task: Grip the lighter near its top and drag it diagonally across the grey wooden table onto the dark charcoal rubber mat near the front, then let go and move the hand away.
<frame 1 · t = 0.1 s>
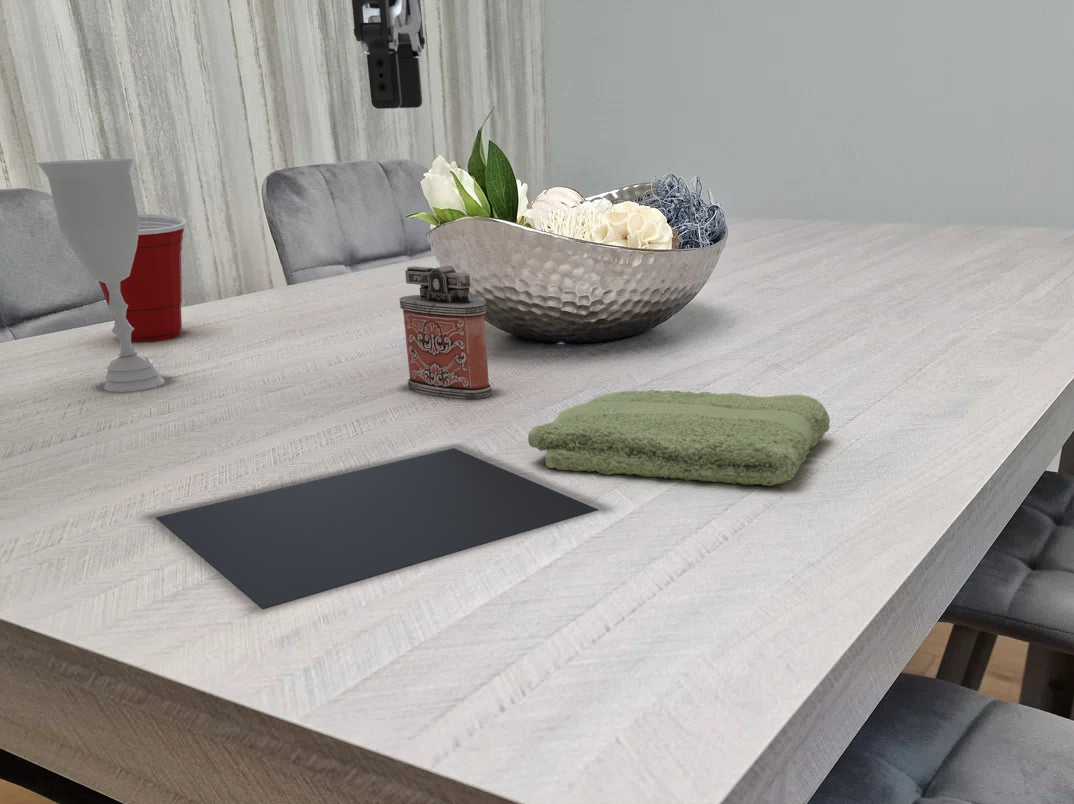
hand: (398, 108, 84), 21 cm above the table, tool pointing down, fingers open, 8 cm apart
lighter: (449, 395, 86), on the table
washcloth: (682, 457, 69), on the table
chalice: (135, 388, 90), on the table
plastic cup: (153, 340, 110), on the table
mat: (376, 516, 60), on the table
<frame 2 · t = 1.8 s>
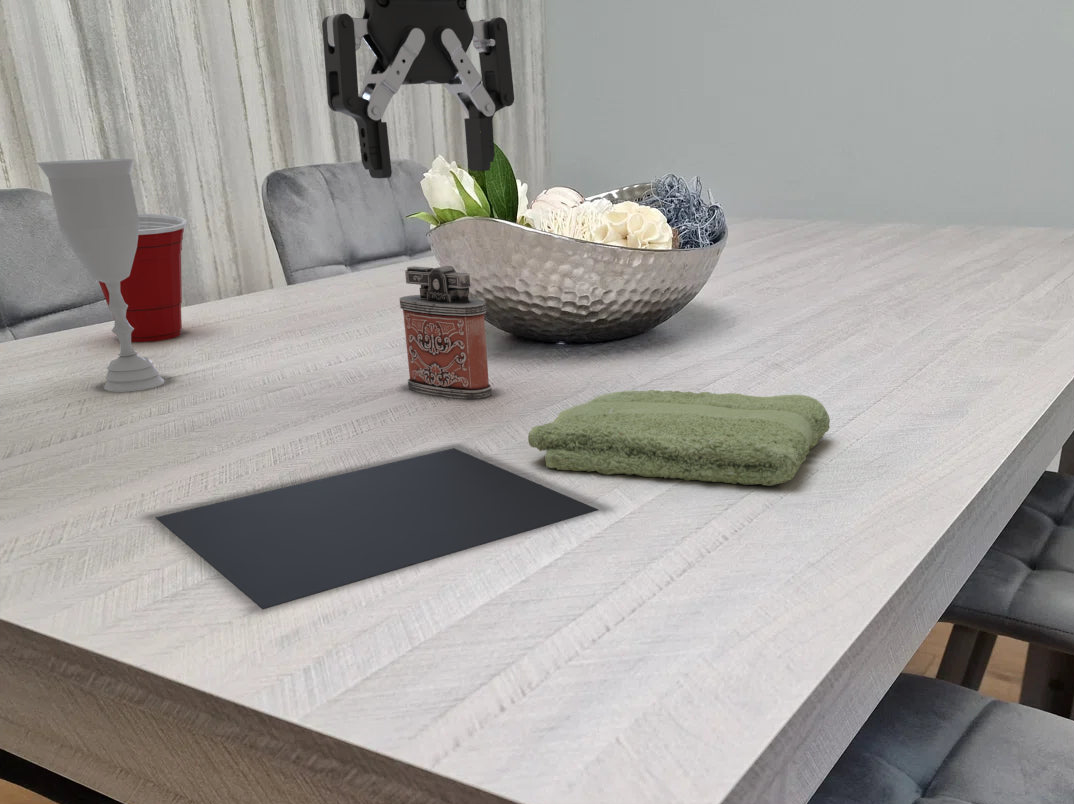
hand: (431, 174, 79), 17 cm above the table, tool pointing down, fingers open, 8 cm apart
nothing on the table moved.
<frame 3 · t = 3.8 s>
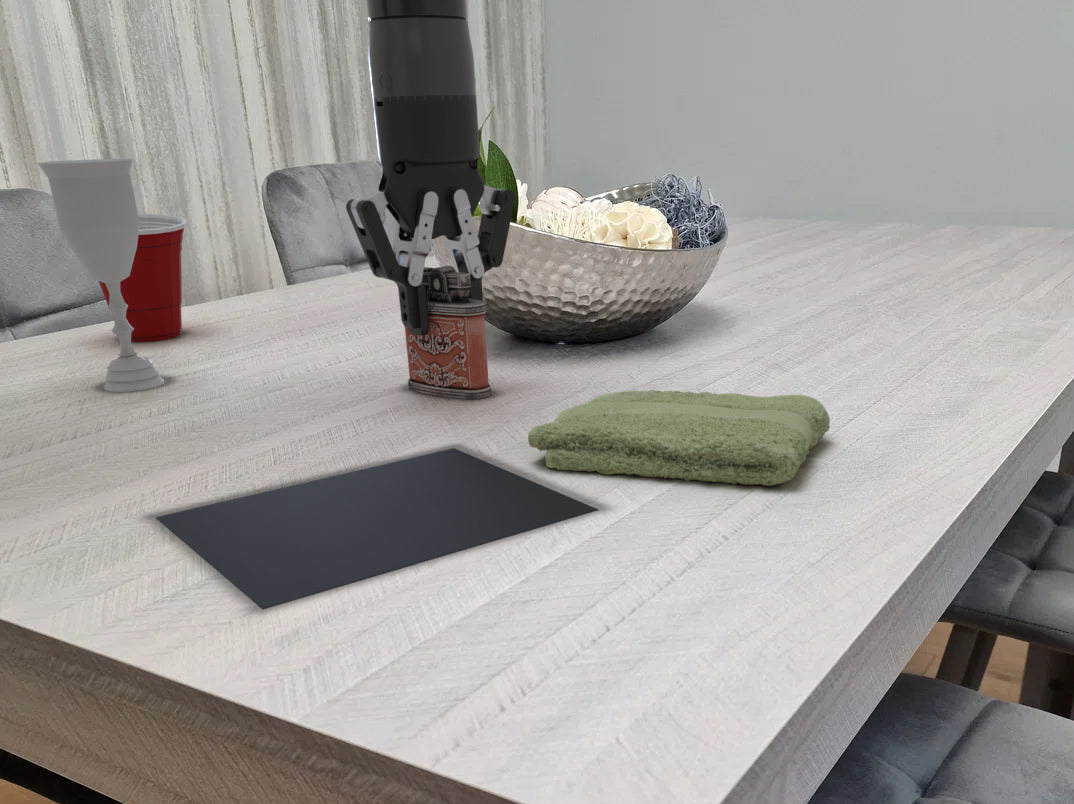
hand: (444, 328, 83), 5 cm above the table, tool pointing down, fingers closed on lighter, 4 cm apart
lighter: (449, 395, 86), on the table, touching gripper
everything else where it was.
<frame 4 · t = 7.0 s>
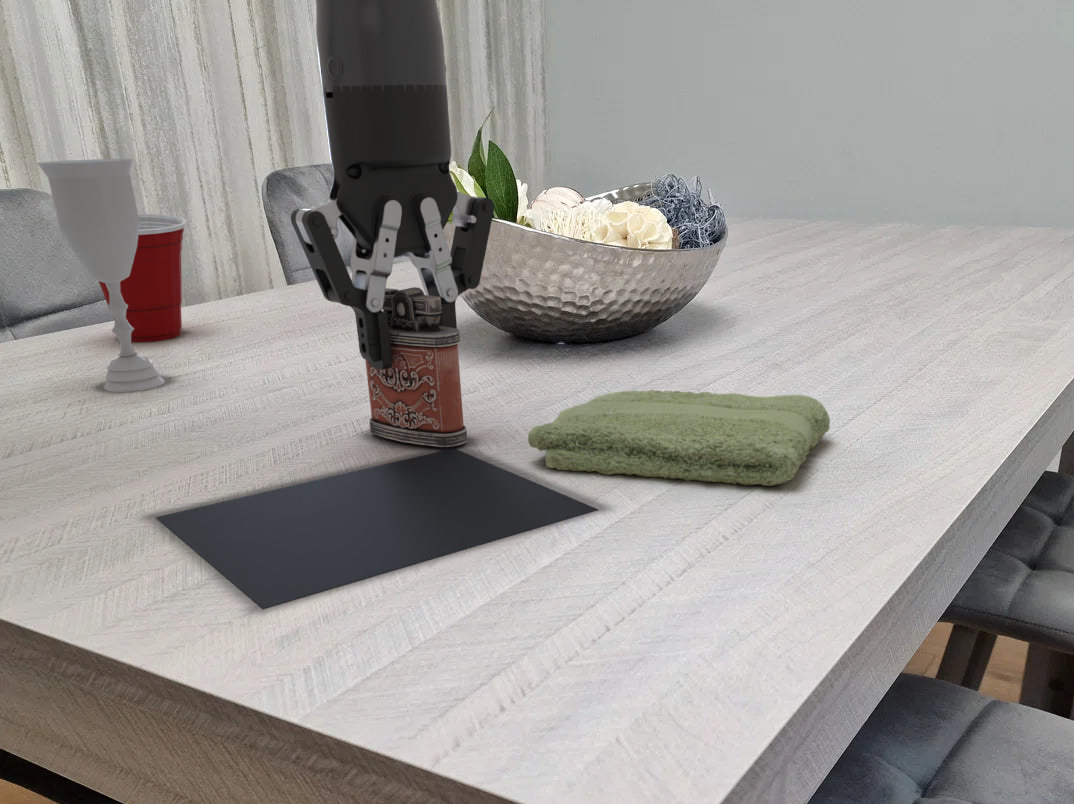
hand: (410, 360, 71), 6 cm above the table, tool pointing down, fingers closed on lighter, 4 cm apart
lighter: (418, 438, 73), on the table, touching gripper
everything else where it was.
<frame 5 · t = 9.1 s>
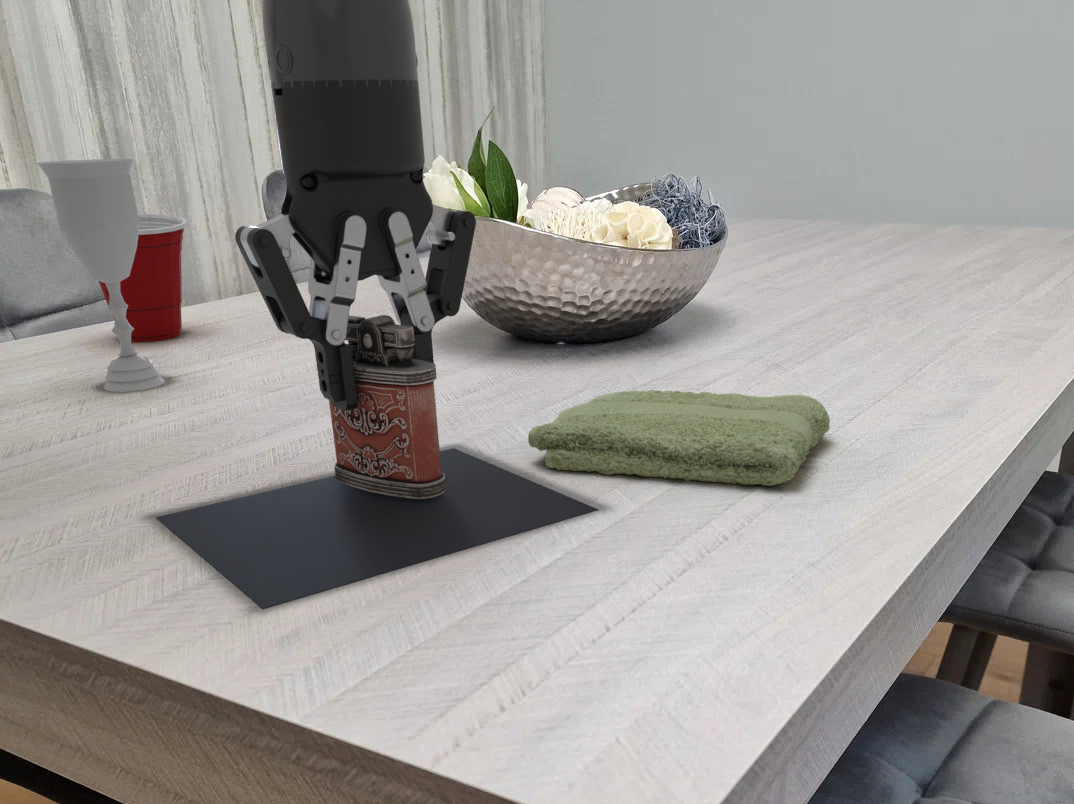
hand: (380, 399, 61), 6 cm above the table, tool pointing down, fingers closed on lighter, 4 cm apart
lighter: (390, 486, 64), resting on mat, touching gripper
everything else where it was.
when the fingers open (5 cm above the table, at t = 10.4 s): lighter stays where it is, resting on mat.
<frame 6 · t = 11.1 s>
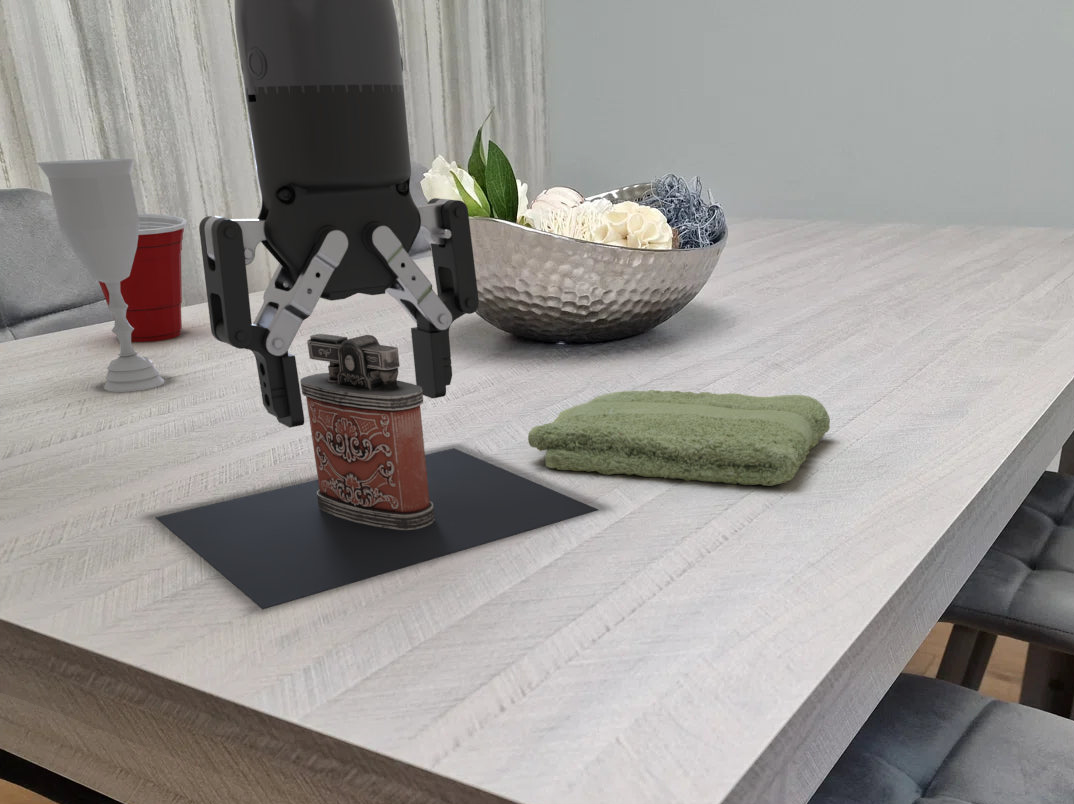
hand: (363, 409, 57), 6 cm above the table, tool pointing down, fingers open, 8 cm apart
lighter: (375, 515, 60), resting on mat
everything else where it was.
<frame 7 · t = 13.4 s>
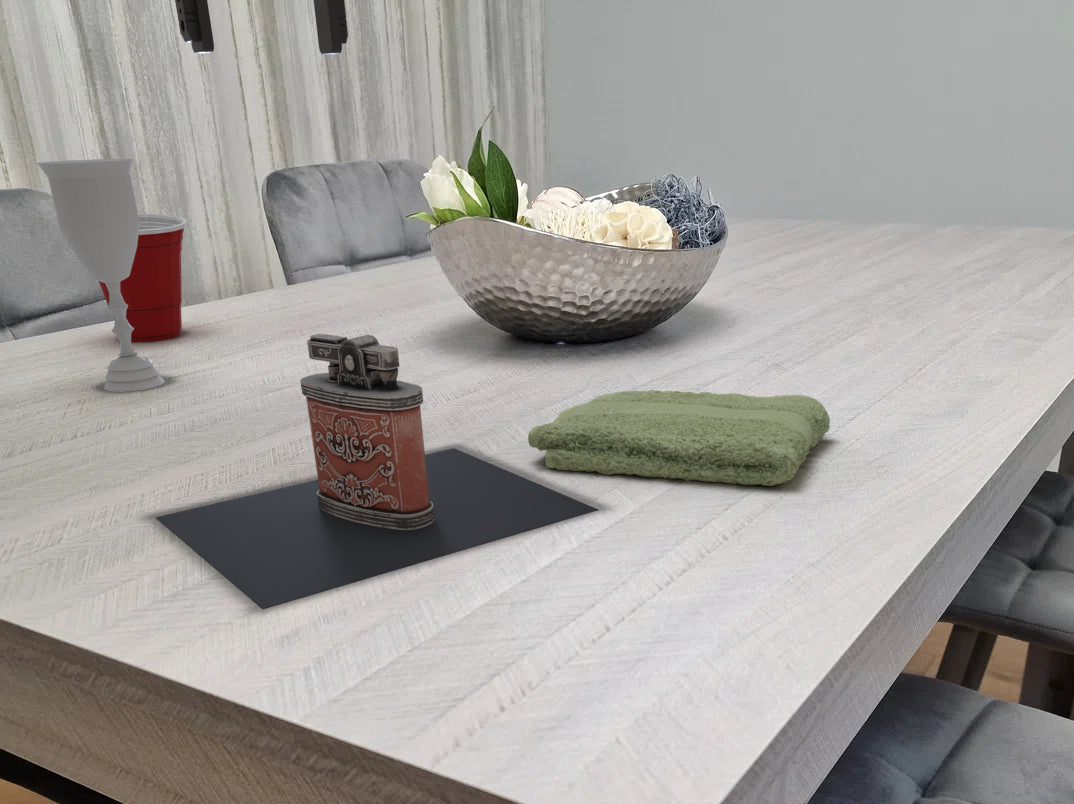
hand: (269, 53, 68), 25 cm above the table, tool pointing down, fingers open, 8 cm apart
nothing on the table moved.
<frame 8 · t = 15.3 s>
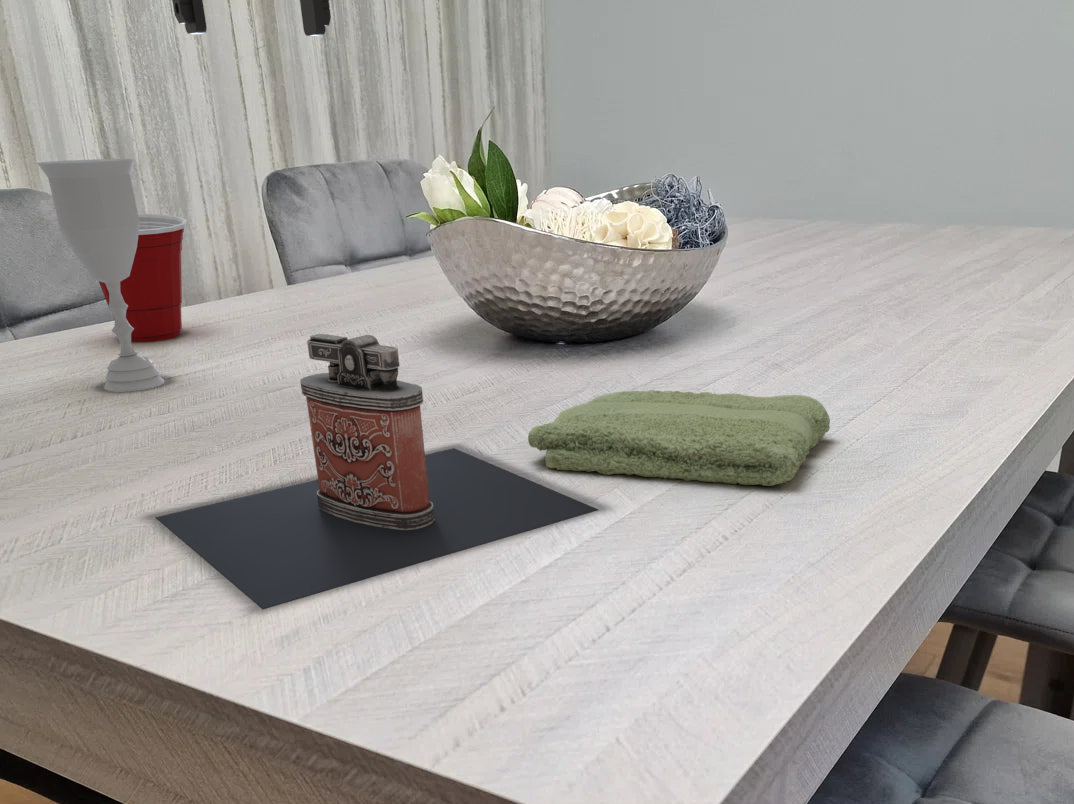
hand: (257, 34, 72), 26 cm above the table, tool pointing down, fingers open, 8 cm apart
nothing on the table moved.
at the end: lighter inside the target area on the mat (0.1 cm from its centre), point 0.0 cm above the mat's base; lighter tilted 0°; the gripper is holding nothing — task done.
